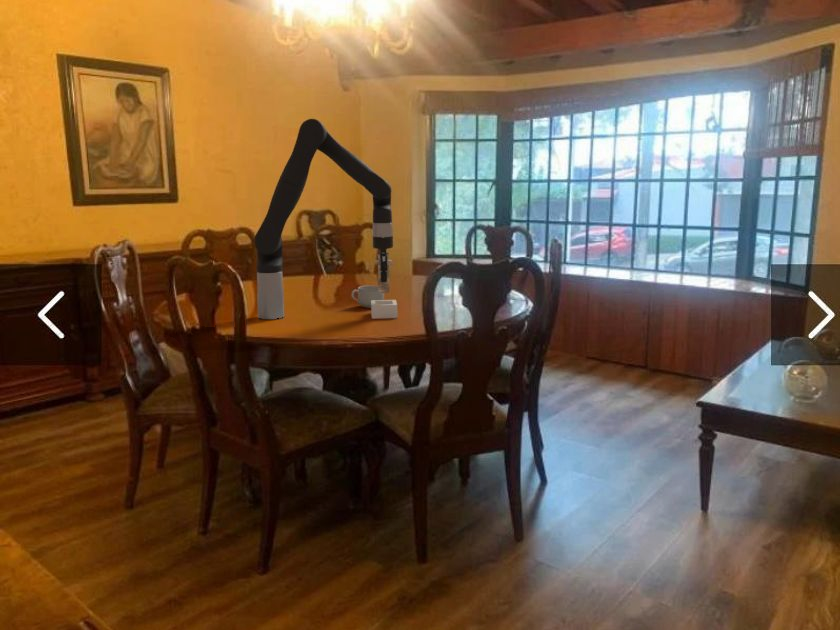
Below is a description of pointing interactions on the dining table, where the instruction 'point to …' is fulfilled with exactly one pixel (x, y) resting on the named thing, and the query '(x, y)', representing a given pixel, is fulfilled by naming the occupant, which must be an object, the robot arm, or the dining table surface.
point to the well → (383, 309)
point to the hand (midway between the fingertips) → (383, 280)
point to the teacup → (367, 295)
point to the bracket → (383, 286)
